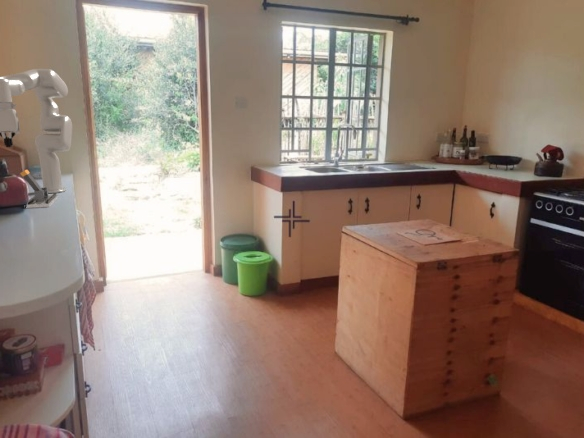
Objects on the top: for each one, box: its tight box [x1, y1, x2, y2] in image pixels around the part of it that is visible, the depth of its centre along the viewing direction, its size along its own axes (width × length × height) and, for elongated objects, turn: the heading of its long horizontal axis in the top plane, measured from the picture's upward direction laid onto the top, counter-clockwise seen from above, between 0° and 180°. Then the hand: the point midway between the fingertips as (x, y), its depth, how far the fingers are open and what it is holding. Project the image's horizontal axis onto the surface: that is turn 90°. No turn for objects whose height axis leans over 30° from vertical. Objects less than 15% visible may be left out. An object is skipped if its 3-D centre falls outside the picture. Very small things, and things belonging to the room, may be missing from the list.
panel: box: [25, 187, 59, 209], centre depth 219 cm, size 24×10×7 cm, turn 18°
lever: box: [19, 169, 43, 191], centre depth 217 cm, size 6×2×13 cm
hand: (9, 146), depth 211 cm, fingers closed
